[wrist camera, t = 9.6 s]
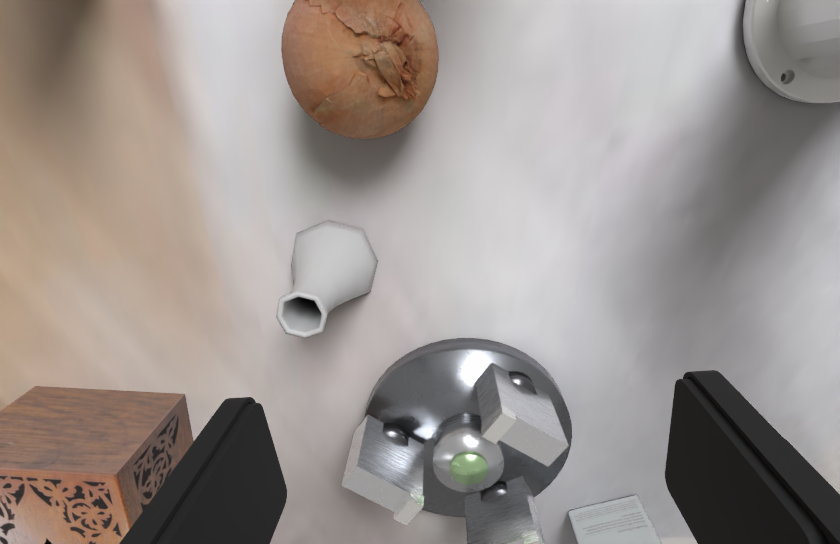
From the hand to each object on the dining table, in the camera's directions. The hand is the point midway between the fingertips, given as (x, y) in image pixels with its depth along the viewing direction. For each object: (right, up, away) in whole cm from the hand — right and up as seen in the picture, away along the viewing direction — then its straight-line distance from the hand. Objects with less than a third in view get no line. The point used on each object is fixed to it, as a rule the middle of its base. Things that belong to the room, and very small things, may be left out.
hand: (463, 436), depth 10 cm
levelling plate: (+3, -11, +32) cm, 34 cm away
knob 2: (+6, -17, +33) cm, 38 cm away
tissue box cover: (-31, -19, +37) cm, 52 cm away
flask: (-8, +5, +27) cm, 29 cm away
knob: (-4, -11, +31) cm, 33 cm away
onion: (-5, +18, +22) cm, 29 cm away
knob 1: (+7, -6, +28) cm, 30 cm away
